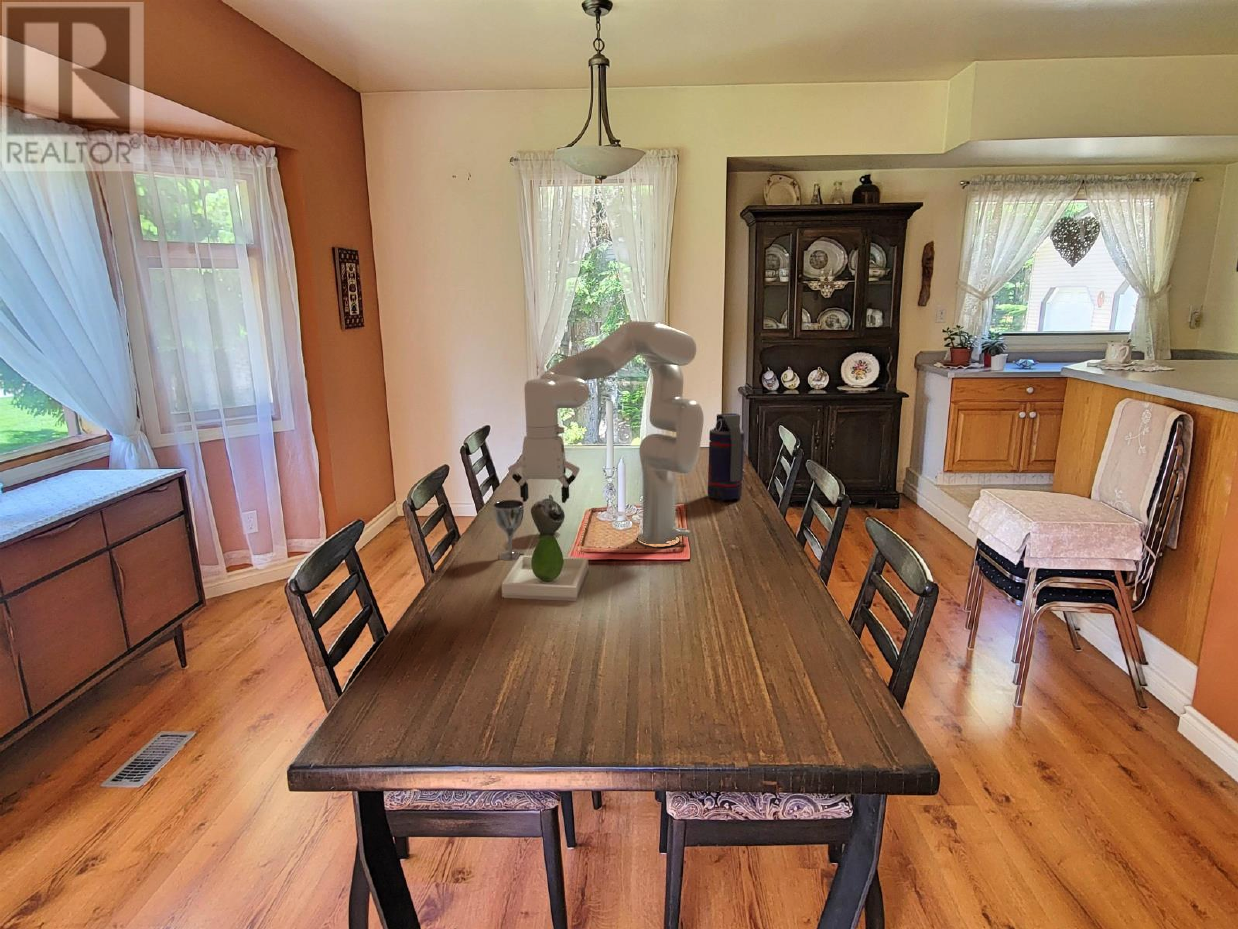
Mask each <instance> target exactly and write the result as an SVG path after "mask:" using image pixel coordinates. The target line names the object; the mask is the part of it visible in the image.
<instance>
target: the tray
mask: <svg viewBox="0 0 1238 929" xmlns="http://www.w3.org/2000/svg"><path fill="white" fill-rule="evenodd" d="M531 560H532V555H525V554H524V555H521V556H520V557H519V559H517V560H516V562H515V563H514V565H513V566H512V568H510V570H509V572H508V574H507V575H506V577H505V578H504V580H503V581H502V583H501V597H504V599H525V600H543V601H545V600H546V601H561V602H562V601H563V602H564V601H565V602H566V601H567V602H577V600H578V597H579V595H580V593H581V590H582V587H583V585H584V582H585V580H586V577H587V575H588V573H589V558H588V557H570V556H569V557H568V556H567V557H566V556H565V557H564V556H563V560H564V563H563V567H562V570H561V573H560V574H559V576H558V577H557V578H555V579H554V580H552V581H542V580H540V579H539V578H537V577H536V576H535V575H534V573H533V570H532V566H531Z"/></svg>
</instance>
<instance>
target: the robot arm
mask: <svg viewBox="0 0 1238 929" xmlns="http://www.w3.org/2000/svg"><path fill="white" fill-rule="evenodd" d="M696 354H697V345H696V341H695V339H694V338H693V337H692V335H690V334H688V333H686V332H684V331H681V330H678V329H676V328H674V327H671V326H669V325H666V324H662V323H659V322H655V321H640V320H639V321H637V320H635V321H633V320H631V321H628V322H625V323H624V324H622V325H620V326H619V327H618V328H617V329H615V330H614V331H612V332H611V333H610V334H609V335H608V336H606V337H605V338H604V339H603V340H601V341H600V342H599V343H597V344H596V345H594V346H593V347H591V348H588V349H585V350H583V351H581V352H577V353H576V354H573V355H571V356H568V357H566V358H564V359H561V360H560V361H559V362H557V363H555V364H554V365H552V367H550V368H549V369H548V370H546V371H544V372H543V373H542V375H541V376H540V377H539V378H536V379H530V380H526V382H525V384H524V390H523V392H524V410H525V432H526V436H524V438H523V442H522V451H521V452H522V453H521V454H522V455H521V460H519V461H517V462H515V463H513V464H512V465H510V466H508V467H507V469H508V472H509V474H510V475H511V477H512V479H513V480H514V482H516V483H517V484H518V486H519V491H520V493H519V494H520V495H519V496H520V498H522V502H523V503H526V502H527V500H528V499H529V483H528V482H527V481H528V479H529V480H558V481H559V482H560V483H561V485H562V486H561V488H560V489H561V503H563V504H566V502H567V501H568V499H569V498H570V485H571V484H572V483H573V482H574V481H575V479H576V477H577V476H578V474H579V472H580V471H581V468H580V467H578V466H577V465H575V464H574V463H572V462H569V461H567V460H566V453H565V445H564V439H563V437H562V436H561V435H560V434H564V433H565V427H561V426H560V425H559V415H558V410H560V409H576V408H579V407H582V406H583V405H585V404H586V402H588V400H589V397H590V393H591V392H590V387H589V385H588V384H587V381H591V380H598V379H603V378H607V377H610V376H613V375H615V374H617V373H618V372H619V371H620V370H621V369H622V368H624V367H625V366H626V365H627V364H628V363H629V362H631V361H632V360H633V359H635V358H636V357H637V356H642V358H643V360H645V362H646V363H647V365H648V366H649V367H650V371H651V373H652V389H651V391H652V392H651V398H650V399H651V400H650V406H649V407H650V408H649V416H648V417H649V422H650V424H651V425H652V427H654V428H656V429H659V430H662V431H663V430H664V431H669V432H672V433H675V436H673V435H672V436H671V435H666V434H661V433H651V434H648V435H647V436H645V437H644V438H643V439H642V441H641V442H640V444H639V447H638V448H639V459H640V465H641V471H642V532H643V533H641V532H639V533H638V534H637V535H636V539H637V538H638V540H639V541H641V542H643V543H646V544H669V543H666V542H667V541H672V540H676V537H678V538H679V536H680V537H684V538H688V537H689V538H690V537H691V530H688V529H687V528H686V527H679V526H677V522H676V506H677V505H676V504H677V503H676V502H677V501H676V500H677V499H676V498H677V497H676V491H677V482H676V477H675V473H678V474H689V473H691V472H692V471H693V470H694V469H695V468H696V466H697V463H698V460H699V456H700V449H701V442H702V435H703V427H704V412H703V411H704V410H703V409H702V406H701V405H700V404H699V403H698V402H697V401H695V400H693V399H689V398H683V393H684V375H683V371H682V369H681V367H683V366H687V365H689V364H691V363H692V361H693V360H694V359H695V357H696ZM519 468H521V474H522V476H521V475H520V474H519V473H518V472H517V469H519ZM567 470H569V471H571V475H570V476H569V477H568V476H567V475H566V473H567ZM638 540H637V541H638Z"/></svg>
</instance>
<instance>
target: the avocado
mask: <svg viewBox="0 0 1238 929" xmlns="http://www.w3.org/2000/svg"><path fill="white" fill-rule="evenodd" d="M531 556H532V560H531V566H532V570H533V573H534V575H535V576H536V577H537V578H539V579H540V580H542V581H552V580H554V579H555V578H557V577H558V576H559V574H560V573H561V570H562V567H563V563H564V560H563V557H564V555H563V552H562V549H561V546H560V544H559V542H558V540H557V538H554V537H552V536H550V535H544V536H542V537H541V538H540V539H538V541H537V544H536V546H535V548H534V550H533V552H532V555H531Z"/></svg>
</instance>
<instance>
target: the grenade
mask: <svg viewBox="0 0 1238 929" xmlns="http://www.w3.org/2000/svg"><path fill="white" fill-rule="evenodd" d="M740 426H741V415H740V414H739V413H719V414H716V423H715V426H714V428H711V429H710V430H709V436H708V438H709V439H708V441H709V442H708V469H707V470H708V471H707V473H708V474H707V476H708V477H707V479H708V480H707V481H708V482H707V495H708V496H709V497H710V498H712V499H715V500H716V502H717V501H721V502H720V503H724V501H725V500H728V501H729V500H737V501H740V500H741V497H742V496H743V476H744V475H743V474H744V454H745V453H744V452H745V443H744V442H745V435H746V434H745V431H744V430H742V429H741V427H740Z"/></svg>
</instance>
